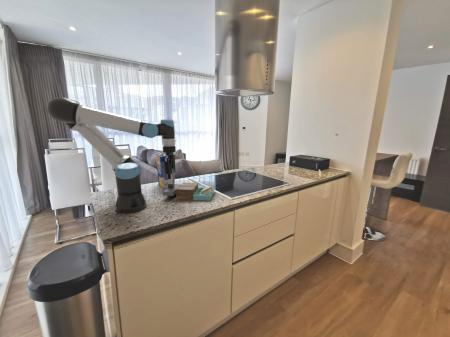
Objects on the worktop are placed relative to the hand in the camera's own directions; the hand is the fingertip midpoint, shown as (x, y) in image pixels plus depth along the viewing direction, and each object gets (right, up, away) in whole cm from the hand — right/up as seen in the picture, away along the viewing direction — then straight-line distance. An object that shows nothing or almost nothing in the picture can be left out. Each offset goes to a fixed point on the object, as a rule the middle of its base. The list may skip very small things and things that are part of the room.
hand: (171, 182), depth 131 cm
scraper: (+1, -5, +1) cm, 6 cm away
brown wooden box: (+10, -8, 0) cm, 13 cm away
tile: (+22, -3, -2) cm, 22 cm away
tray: (+21, -8, -1) cm, 22 cm away
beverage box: (-10, -3, +22) cm, 25 cm away
